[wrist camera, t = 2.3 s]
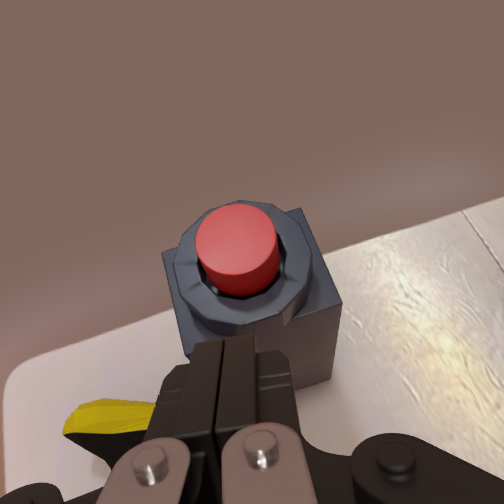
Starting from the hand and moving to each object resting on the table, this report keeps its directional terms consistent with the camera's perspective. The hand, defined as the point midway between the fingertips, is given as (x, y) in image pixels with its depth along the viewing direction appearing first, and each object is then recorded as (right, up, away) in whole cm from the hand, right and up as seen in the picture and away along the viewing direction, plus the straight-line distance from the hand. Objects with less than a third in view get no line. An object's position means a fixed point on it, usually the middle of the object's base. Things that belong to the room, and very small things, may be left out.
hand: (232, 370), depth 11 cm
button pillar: (+2, -6, +26) cm, 26 cm away
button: (0, +2, +10) cm, 11 cm away
